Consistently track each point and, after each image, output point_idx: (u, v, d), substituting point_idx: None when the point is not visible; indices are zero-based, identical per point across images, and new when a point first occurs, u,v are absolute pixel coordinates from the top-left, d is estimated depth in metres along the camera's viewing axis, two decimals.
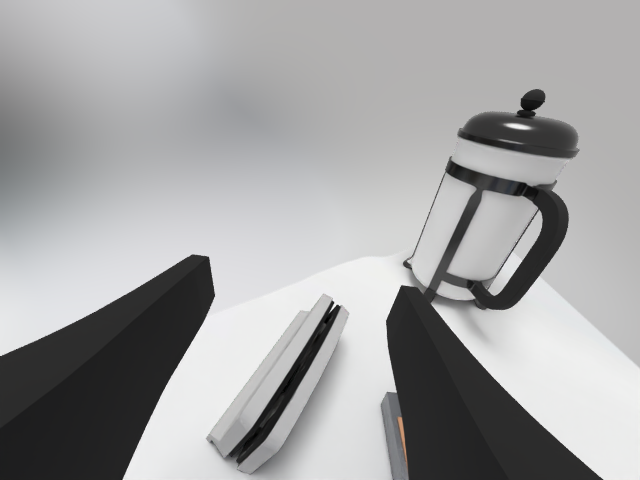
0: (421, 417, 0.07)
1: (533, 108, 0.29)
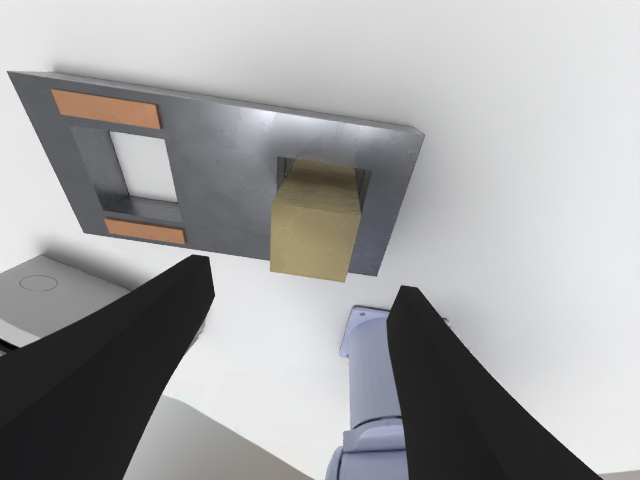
0: (421, 417, 0.07)
1: None
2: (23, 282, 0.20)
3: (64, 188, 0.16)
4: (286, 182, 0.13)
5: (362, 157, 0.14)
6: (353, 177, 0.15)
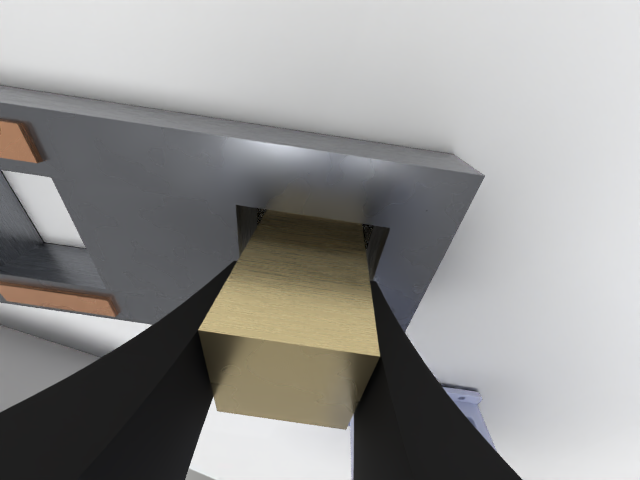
0: (364, 409, 0.07)
1: None
2: None
3: None
4: (246, 256, 0.08)
5: (375, 208, 0.08)
6: (359, 234, 0.10)
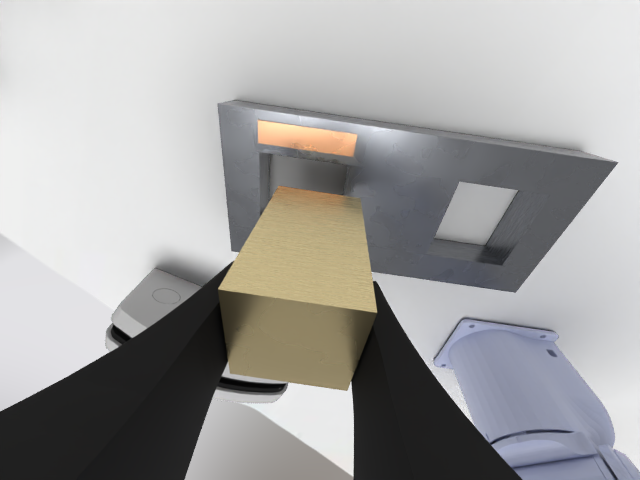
0: (364, 409, 0.07)
1: None
2: (155, 296, 0.21)
3: (229, 210, 0.17)
4: (256, 233, 0.08)
5: (546, 182, 0.14)
6: (359, 216, 0.10)
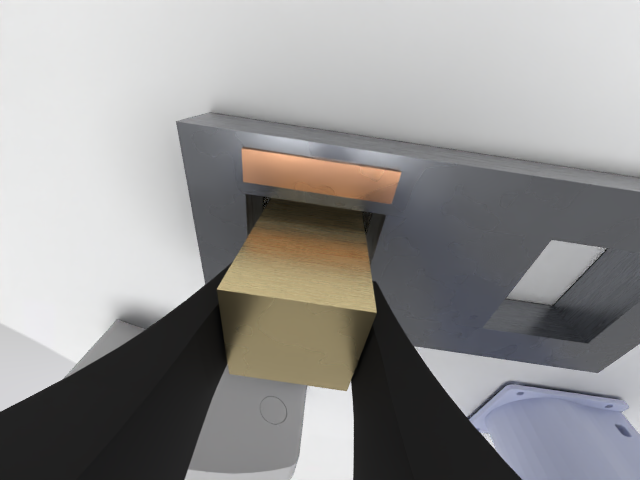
0: (364, 409, 0.07)
1: None
2: None
3: (205, 269, 0.12)
4: (255, 233, 0.08)
5: None
6: (358, 216, 0.10)
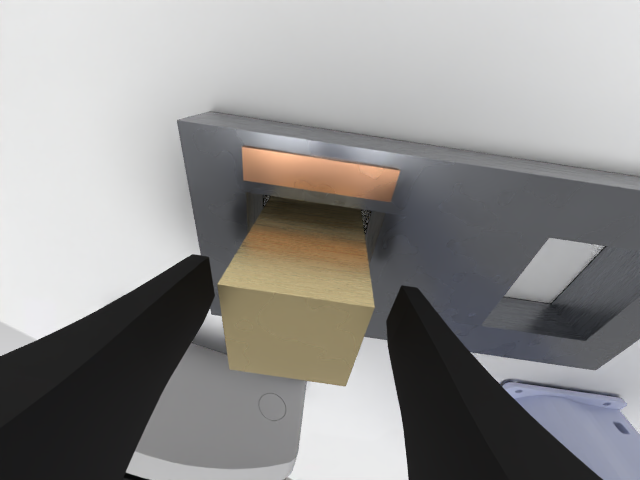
0: (421, 417, 0.07)
1: None
2: None
3: None
4: (255, 230, 0.08)
5: None
6: (357, 214, 0.10)
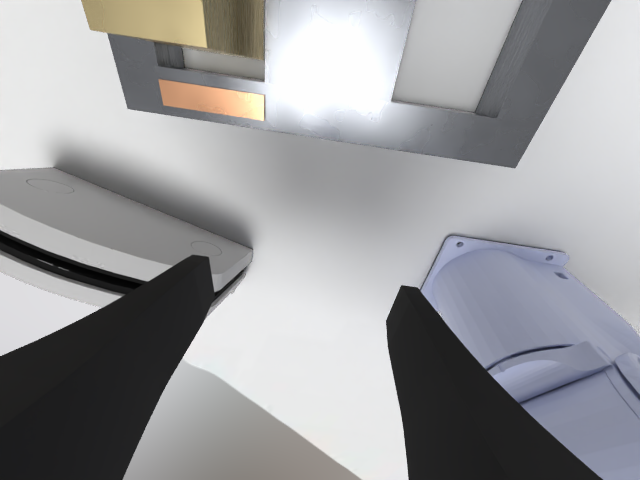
0: (421, 417, 0.07)
1: None
2: (31, 181, 0.16)
3: None
4: None
5: None
6: None
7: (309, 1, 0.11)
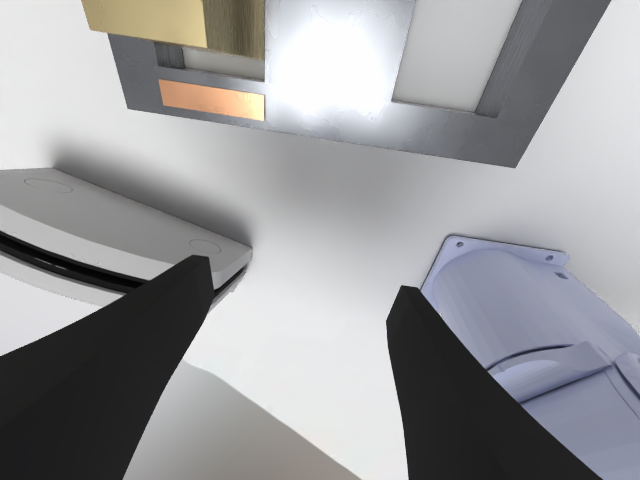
0: (421, 417, 0.07)
1: None
2: (29, 181, 0.16)
3: None
4: None
5: None
6: None
7: (309, 1, 0.11)
